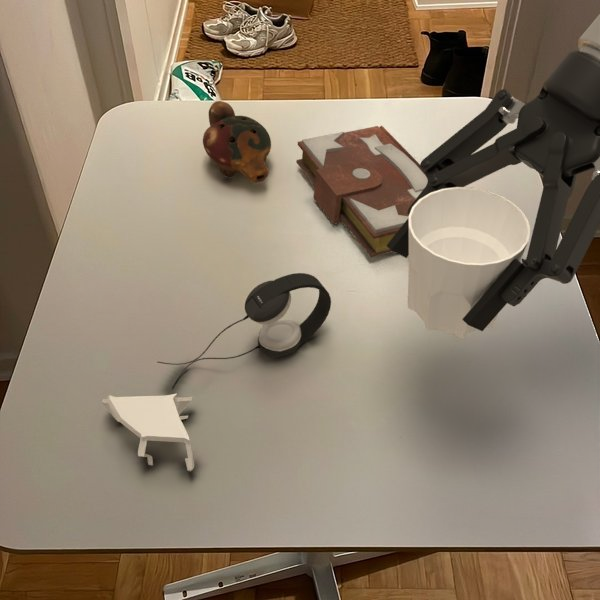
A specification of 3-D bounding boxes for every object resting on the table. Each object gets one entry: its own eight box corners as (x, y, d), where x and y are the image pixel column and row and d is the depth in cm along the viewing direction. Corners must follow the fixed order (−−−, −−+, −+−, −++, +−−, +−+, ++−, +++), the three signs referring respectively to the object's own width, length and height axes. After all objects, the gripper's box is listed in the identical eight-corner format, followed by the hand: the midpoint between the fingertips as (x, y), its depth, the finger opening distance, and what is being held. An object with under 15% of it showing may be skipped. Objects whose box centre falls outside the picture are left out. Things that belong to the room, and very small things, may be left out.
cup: (413, 258, 73) (423, 178, 66) (515, 281, 71) (537, 200, 64) (387, 330, 67) (395, 249, 60) (498, 357, 64) (520, 276, 57)
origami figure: (221, 416, 79) (216, 388, 75) (193, 483, 73) (186, 457, 70) (118, 393, 81) (109, 365, 77) (83, 457, 75) (71, 430, 72)
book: (464, 237, 99) (472, 207, 96) (363, 263, 94) (368, 233, 90) (381, 148, 114) (385, 119, 110) (289, 167, 109) (291, 137, 105)
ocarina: (239, 132, 116) (239, 87, 110) (292, 185, 108) (295, 139, 102) (184, 150, 112) (181, 104, 106) (235, 206, 104) (235, 160, 98)
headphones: (173, 390, 84) (322, 305, 88) (188, 418, 82) (341, 329, 85) (144, 341, 77) (308, 251, 80) (159, 370, 74) (329, 275, 78)
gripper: (741, 162, 55) (539, 379, 61) (529, 41, 69) (381, 228, 75) (723, 121, 49) (501, 365, 55) (495, -2, 63) (337, 204, 69)
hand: (432, 286), depth 65 cm, fingers closed on cup, 10 cm apart
